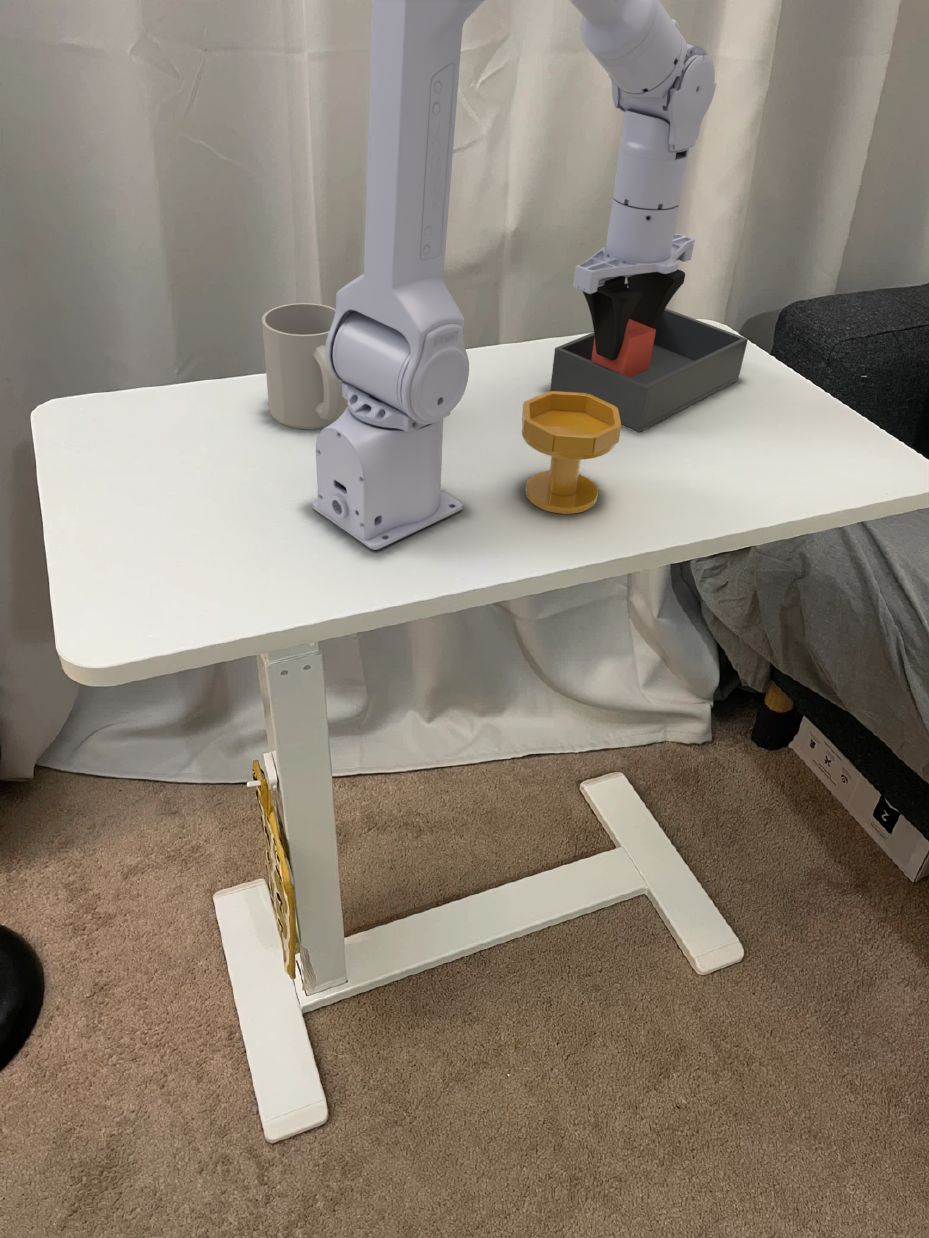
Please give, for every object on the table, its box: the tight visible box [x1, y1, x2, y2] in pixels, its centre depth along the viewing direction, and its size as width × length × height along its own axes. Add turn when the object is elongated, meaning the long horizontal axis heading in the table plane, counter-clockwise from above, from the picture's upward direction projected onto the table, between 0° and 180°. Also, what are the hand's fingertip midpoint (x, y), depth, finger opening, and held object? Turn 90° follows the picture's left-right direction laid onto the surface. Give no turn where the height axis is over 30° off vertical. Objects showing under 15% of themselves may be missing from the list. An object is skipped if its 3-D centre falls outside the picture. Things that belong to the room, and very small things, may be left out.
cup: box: [261, 302, 348, 430], centre depth 89 cm, size 7×10×9 cm
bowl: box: [521, 390, 622, 515], centre depth 81 cm, size 8×8×8 cm
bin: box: [549, 307, 749, 433], centre depth 99 cm, size 17×11×4 cm, turn 136°
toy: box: [591, 319, 656, 377], centre depth 94 cm, size 4×4×4 cm
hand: (621, 350), depth 94 cm, fingers closed on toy, 4 cm apart
